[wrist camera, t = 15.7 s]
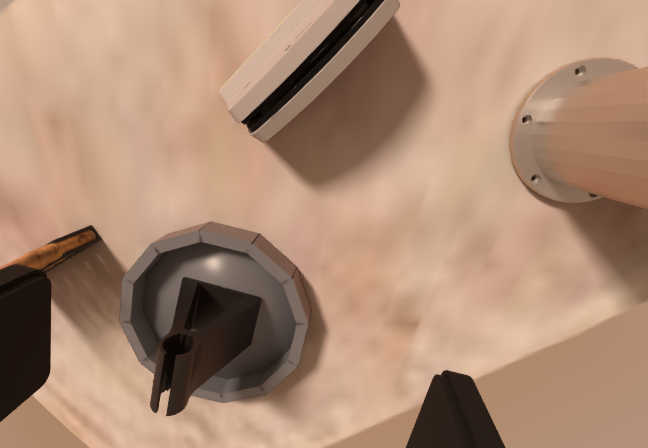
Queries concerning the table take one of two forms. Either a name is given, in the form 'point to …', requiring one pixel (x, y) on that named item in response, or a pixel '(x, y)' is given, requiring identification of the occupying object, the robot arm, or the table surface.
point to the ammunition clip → (58, 250)
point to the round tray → (228, 272)
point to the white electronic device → (301, 60)
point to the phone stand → (201, 339)
